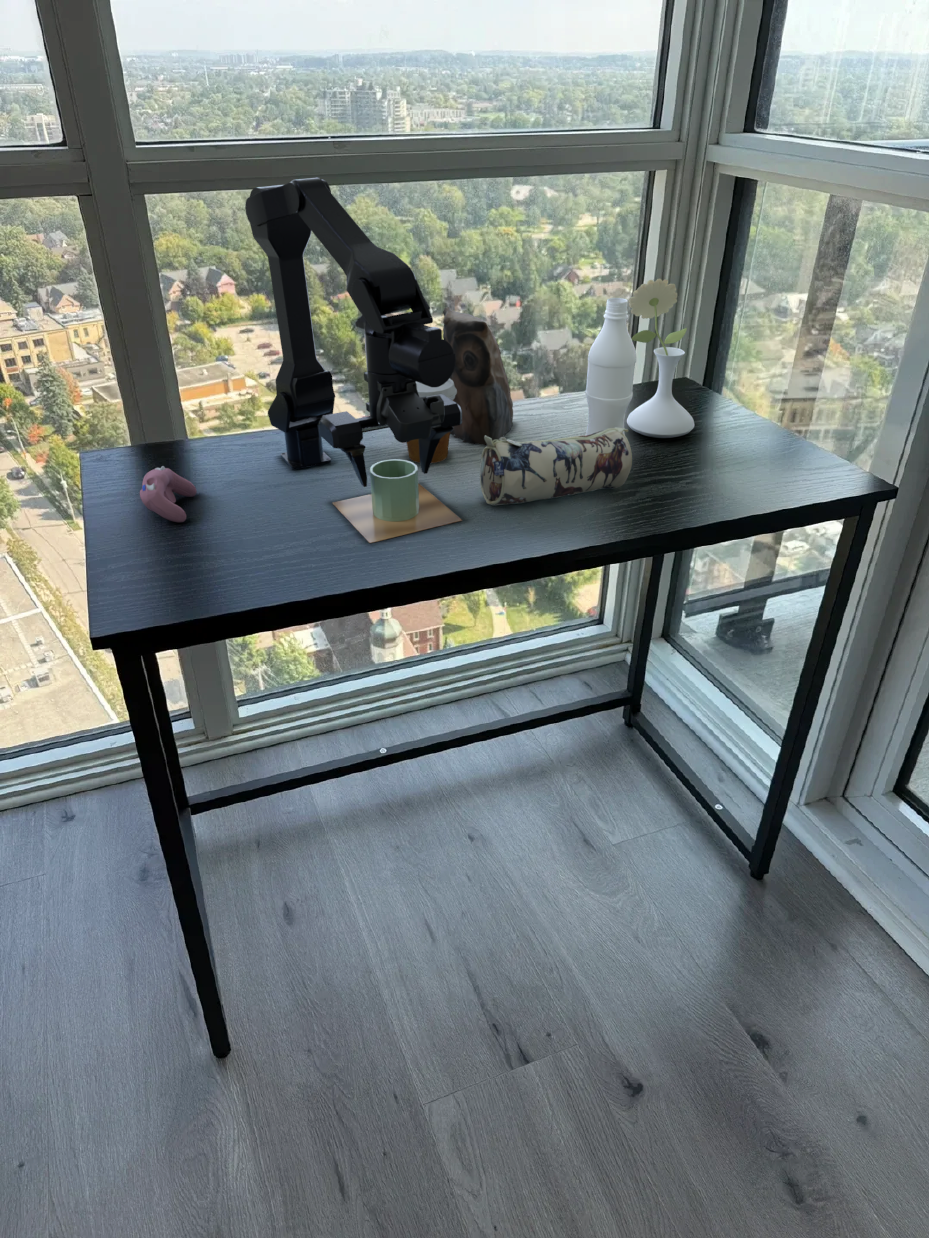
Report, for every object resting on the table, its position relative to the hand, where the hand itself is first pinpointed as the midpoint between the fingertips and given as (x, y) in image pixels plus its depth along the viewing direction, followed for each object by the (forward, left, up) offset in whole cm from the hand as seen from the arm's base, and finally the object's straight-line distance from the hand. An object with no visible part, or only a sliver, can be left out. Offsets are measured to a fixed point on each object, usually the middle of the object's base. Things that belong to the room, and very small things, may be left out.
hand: (394, 479), depth 120 cm
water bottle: (0, +36, -5) cm, 36 cm away
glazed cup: (0, 0, -5) cm, 5 cm away
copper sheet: (0, 0, -5) cm, 5 cm away
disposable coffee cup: (-16, +13, -5) cm, 21 cm away
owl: (-21, +26, -5) cm, 34 cm away
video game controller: (-16, -28, -5) cm, 33 cm away
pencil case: (+6, +23, -5) cm, 24 cm away
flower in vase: (-7, +52, -5) cm, 53 cm away
